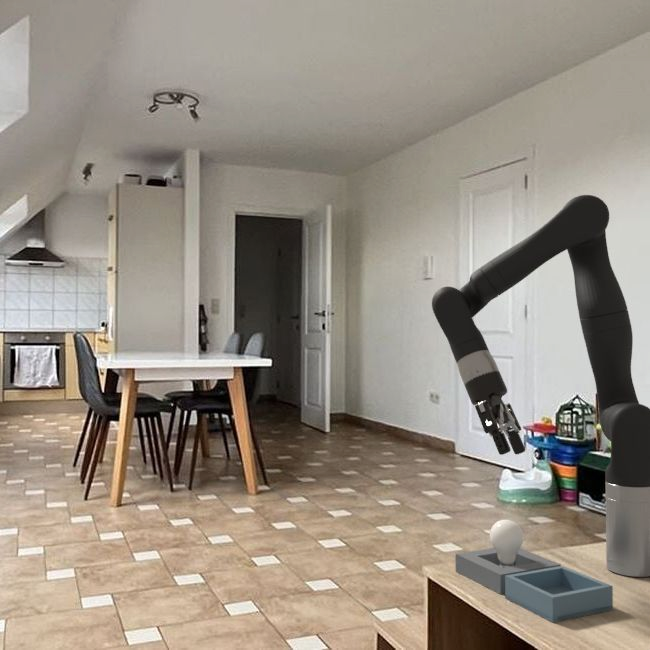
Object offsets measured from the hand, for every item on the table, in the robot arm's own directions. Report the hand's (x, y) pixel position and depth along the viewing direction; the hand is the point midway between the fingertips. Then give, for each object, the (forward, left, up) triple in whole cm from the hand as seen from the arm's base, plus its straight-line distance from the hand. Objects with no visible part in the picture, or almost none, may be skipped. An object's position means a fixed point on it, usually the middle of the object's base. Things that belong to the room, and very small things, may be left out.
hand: (513, 453), depth 140 cm
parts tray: (+3, +15, -24) cm, 28 cm away
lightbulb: (+2, 0, -24) cm, 24 cm away
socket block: (+2, 0, -24) cm, 24 cm away
